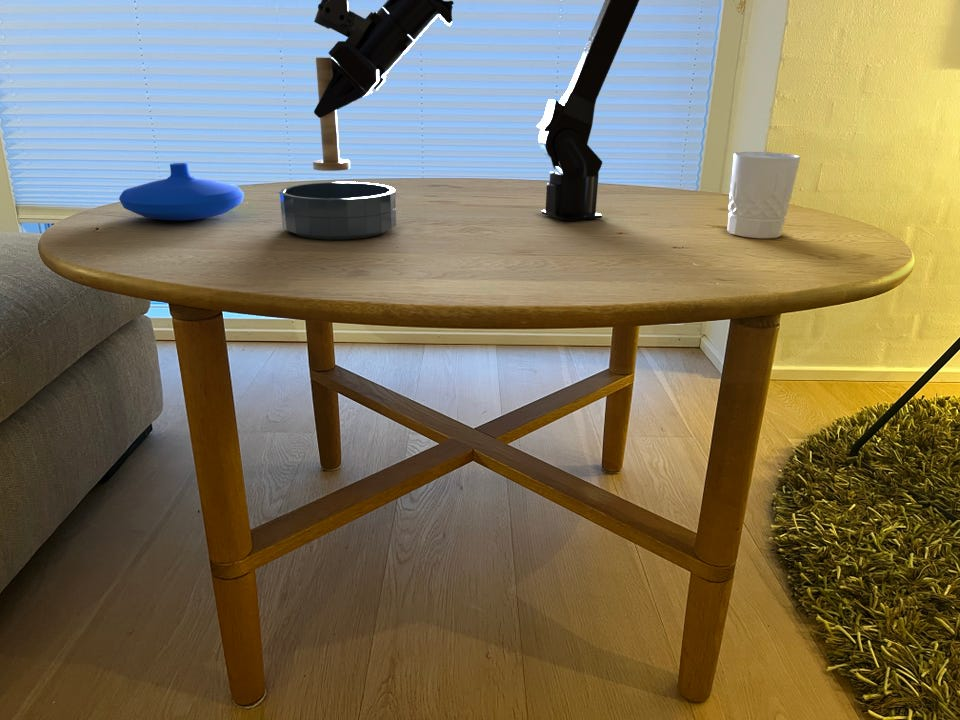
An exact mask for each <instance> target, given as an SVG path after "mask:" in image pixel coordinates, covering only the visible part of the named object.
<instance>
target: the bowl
mask: <svg viewBox="0 0 960 720" xmlns="http://www.w3.org/2000/svg"><path fill="white" fill-rule="evenodd" d="M279 201H280V202H279V203H280V212H281V223H282V228H283V229H284V230H286V231H287V232H290V233H292V234H294V235H296V236H299V237H302V238H307V239H313V240H314V239H315V240H327V241H329V240H330V241H334V240H335V241H336V240H337V241H339V240H340V241H341V240H357V239H365V238H366V239H367V238H371V237H372V238H373V237H376V236H381V235H382V234H385V233H387V232H388V231H391V230H392V229H393V228H395V227H396V226H397V208H396V207H397V205H396V203H397V202H396V189H395V188H394V187H392V186H389V185H385V184H379V183H370V182H358V181H357V182H356V181H327V182H312V183H311V182H309V183H301V184H296V185H290V186H287V187H284V188H281V189H280V191H279Z"/></svg>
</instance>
